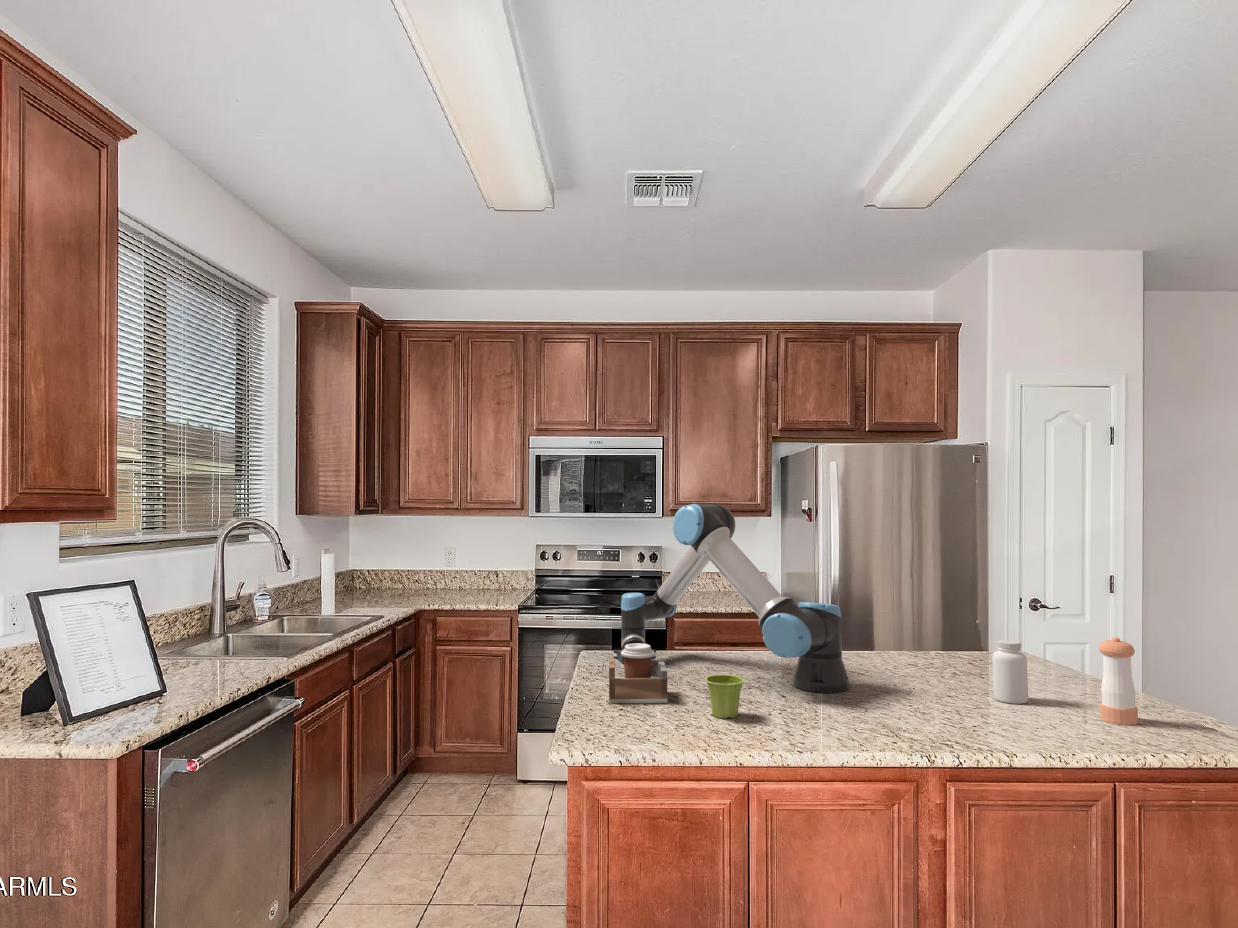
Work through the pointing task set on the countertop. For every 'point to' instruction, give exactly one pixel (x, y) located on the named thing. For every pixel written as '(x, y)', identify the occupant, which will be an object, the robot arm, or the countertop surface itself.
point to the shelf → (637, 687)
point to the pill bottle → (1010, 673)
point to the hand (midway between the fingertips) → (636, 666)
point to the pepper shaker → (1118, 683)
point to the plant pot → (724, 694)
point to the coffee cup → (637, 660)
